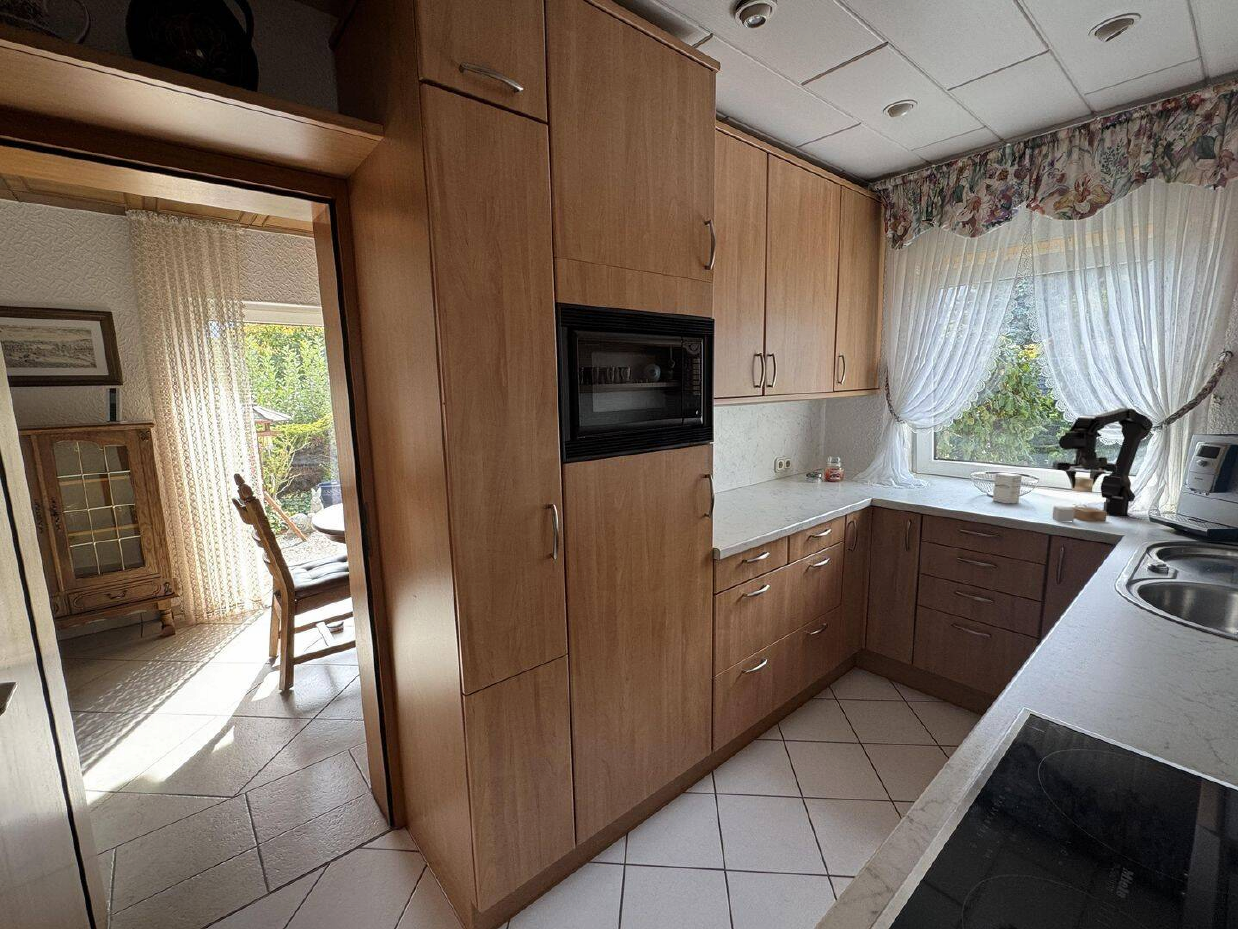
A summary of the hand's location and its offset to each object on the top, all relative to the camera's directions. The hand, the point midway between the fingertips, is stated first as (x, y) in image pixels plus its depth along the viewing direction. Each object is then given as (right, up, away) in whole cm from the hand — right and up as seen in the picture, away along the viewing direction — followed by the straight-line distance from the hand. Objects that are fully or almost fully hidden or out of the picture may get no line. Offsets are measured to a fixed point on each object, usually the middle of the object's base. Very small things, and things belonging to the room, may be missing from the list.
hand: (1081, 488), depth 219 cm
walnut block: (+2, -12, 0) cm, 12 cm away
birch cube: (0, -1, 0) cm, 1 cm away
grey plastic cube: (-10, -12, -3) cm, 16 cm away
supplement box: (-9, -8, +30) cm, 33 cm away
